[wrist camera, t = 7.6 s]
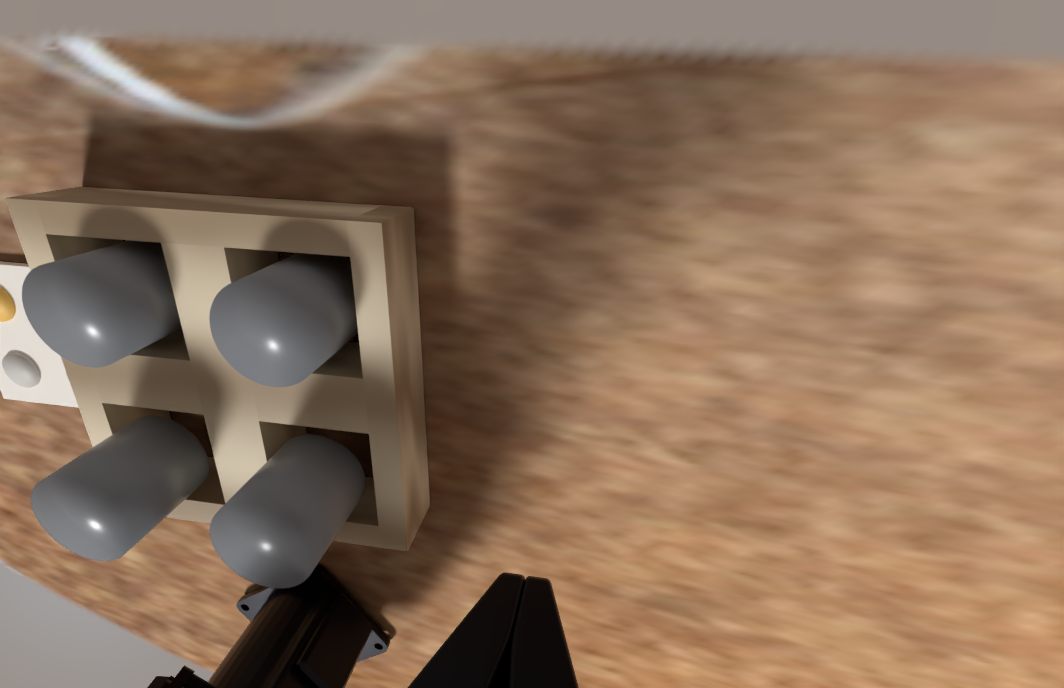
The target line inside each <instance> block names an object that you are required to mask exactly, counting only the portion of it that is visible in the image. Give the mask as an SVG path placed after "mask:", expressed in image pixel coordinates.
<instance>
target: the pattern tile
mask: <svg viewBox="0 0 1064 688" xmlns="http://www.w3.org/2000/svg"><path fill="white" fill-rule="evenodd" d="M29 272H30V268H29V265H28V264H25V263H13V262H1V261H0V390H1V393H2V395H3V397H4V399H11V400H20V401H28V402H37V403H45V404H53V405H62V406H70V407H78V404H77V401H76V398H75V395H74V393H73V390H72V387H71V384H70V381H69V378H68V376H67V373H66V370H65V367H64V364H63V361H62V359H61V356H60V355H58V354H57V353H56V352H55V351H53V350H52V349H51V348H50V347H49V346H48V345H46V344H45V342H44V341H43V340H42V339H41V338H40V337H39V336H38V334H37V333H36V332H35V330H34V329H33V327H32V326H31V324H30V322H29V320H28V318H27V315H26V313H25V310H24V307H23V302H22V286H23V282H24V280H25V278H26V276H27V275H28V273H29Z"/></svg>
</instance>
